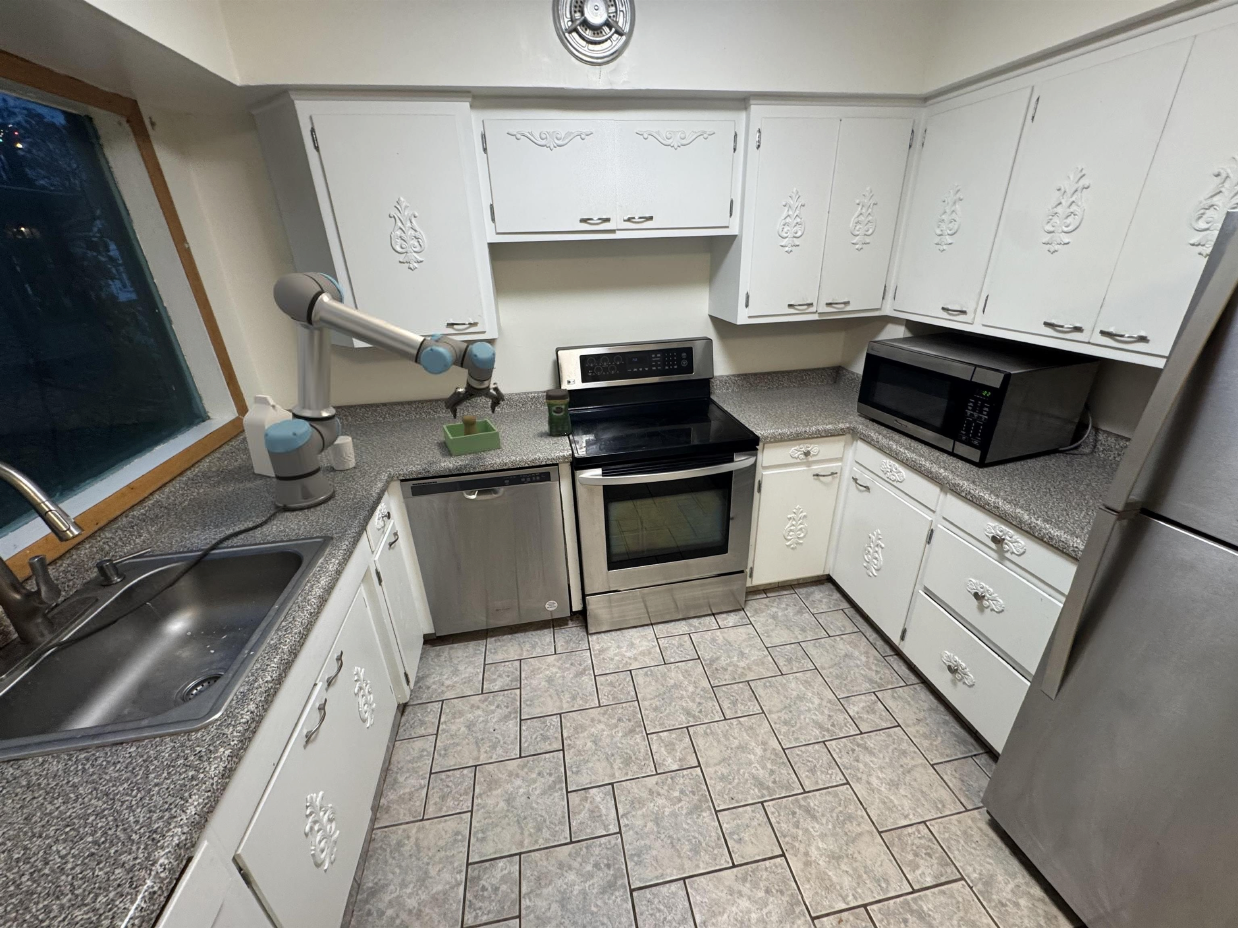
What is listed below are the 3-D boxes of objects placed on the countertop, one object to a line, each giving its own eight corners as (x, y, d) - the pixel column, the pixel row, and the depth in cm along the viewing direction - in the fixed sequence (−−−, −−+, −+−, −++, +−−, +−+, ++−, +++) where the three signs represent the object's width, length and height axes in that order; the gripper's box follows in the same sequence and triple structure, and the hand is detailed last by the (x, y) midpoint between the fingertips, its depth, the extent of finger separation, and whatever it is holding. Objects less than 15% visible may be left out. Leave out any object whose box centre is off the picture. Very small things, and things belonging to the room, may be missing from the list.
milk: (254, 472, 171) (231, 398, 161) (286, 461, 181) (266, 390, 171) (279, 477, 167) (257, 401, 157) (310, 465, 177) (291, 393, 167)
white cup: (352, 460, 181) (346, 434, 177) (360, 466, 175) (354, 439, 172) (329, 466, 176) (322, 439, 172) (336, 473, 170) (329, 445, 167)
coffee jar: (571, 429, 211) (568, 386, 204) (571, 435, 204) (569, 391, 197) (547, 430, 210) (544, 387, 203) (547, 437, 203) (544, 392, 196)
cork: (475, 446, 191) (472, 418, 187) (461, 445, 192) (457, 417, 188) (482, 440, 197) (479, 413, 193) (468, 440, 198) (465, 413, 194)
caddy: (500, 448, 191) (498, 431, 189) (453, 456, 184) (450, 438, 181) (489, 434, 206) (487, 419, 203) (445, 441, 199) (442, 425, 196)
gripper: (441, 394, 156) (439, 427, 174) (519, 384, 167) (510, 416, 185) (436, 374, 158) (435, 408, 176) (513, 366, 169) (504, 399, 187)
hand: (473, 412), depth 180 cm, fingers open, 13 cm apart
